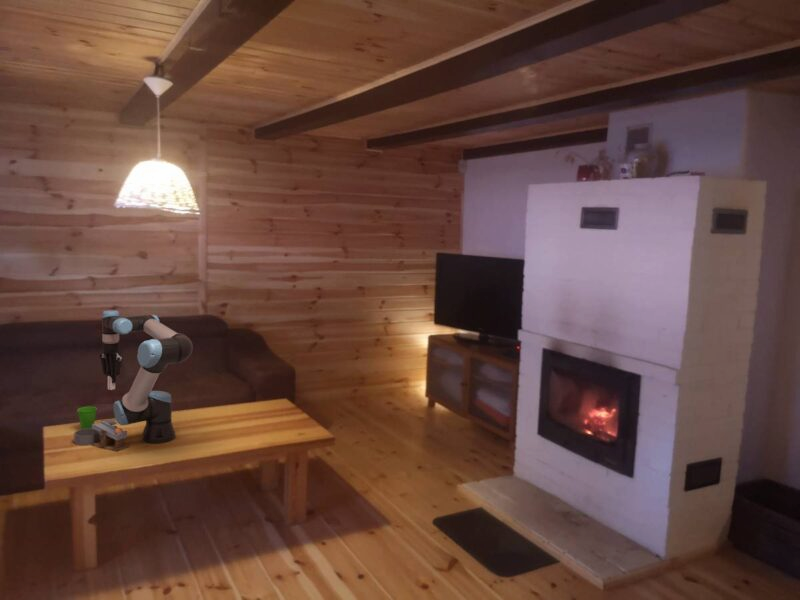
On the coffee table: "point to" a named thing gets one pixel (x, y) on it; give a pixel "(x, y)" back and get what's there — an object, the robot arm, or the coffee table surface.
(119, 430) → the ball
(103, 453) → the coffee table surface
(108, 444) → the fulcrum
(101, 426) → the grey slab
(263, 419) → the coffee table surface
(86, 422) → the cup
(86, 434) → the dish
